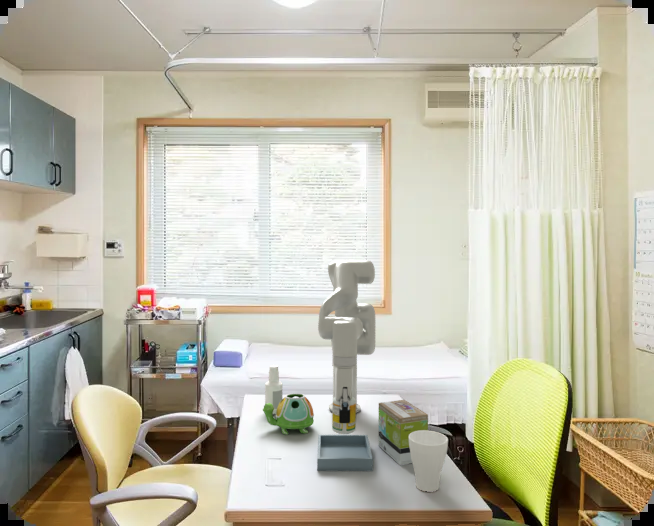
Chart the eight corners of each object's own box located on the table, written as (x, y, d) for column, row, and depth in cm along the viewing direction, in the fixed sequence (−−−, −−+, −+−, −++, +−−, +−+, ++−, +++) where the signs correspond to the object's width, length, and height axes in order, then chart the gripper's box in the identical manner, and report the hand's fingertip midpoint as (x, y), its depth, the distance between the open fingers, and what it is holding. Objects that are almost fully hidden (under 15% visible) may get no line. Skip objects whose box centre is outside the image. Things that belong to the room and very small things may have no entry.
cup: (454, 493, 128) (455, 443, 127) (418, 499, 125) (419, 447, 124) (435, 475, 138) (435, 428, 137) (401, 480, 135) (401, 432, 134)
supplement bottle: (332, 434, 145) (332, 391, 145) (332, 425, 152) (332, 385, 152) (356, 434, 145) (356, 392, 145) (355, 426, 152) (355, 385, 152)
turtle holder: (263, 423, 177) (263, 391, 177) (312, 422, 179) (312, 390, 179) (262, 436, 165) (262, 401, 165) (315, 435, 167) (315, 400, 166)
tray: (318, 445, 158) (318, 434, 158) (367, 445, 158) (367, 434, 158) (317, 470, 140) (317, 458, 140) (372, 471, 140) (372, 459, 140)
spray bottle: (281, 414, 186) (281, 368, 186) (263, 414, 187) (263, 368, 186) (283, 408, 193) (283, 364, 193) (266, 408, 193) (266, 363, 193)
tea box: (377, 446, 157) (377, 401, 157) (404, 442, 161) (405, 398, 160) (399, 466, 143) (400, 417, 143) (428, 461, 147) (429, 413, 146)
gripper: (331, 354, 157) (331, 408, 157) (332, 367, 139) (332, 428, 140) (355, 354, 157) (354, 409, 157) (358, 367, 139) (358, 428, 140)
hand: (344, 417), depth 149 cm, fingers closed on supplement bottle, 7 cm apart
